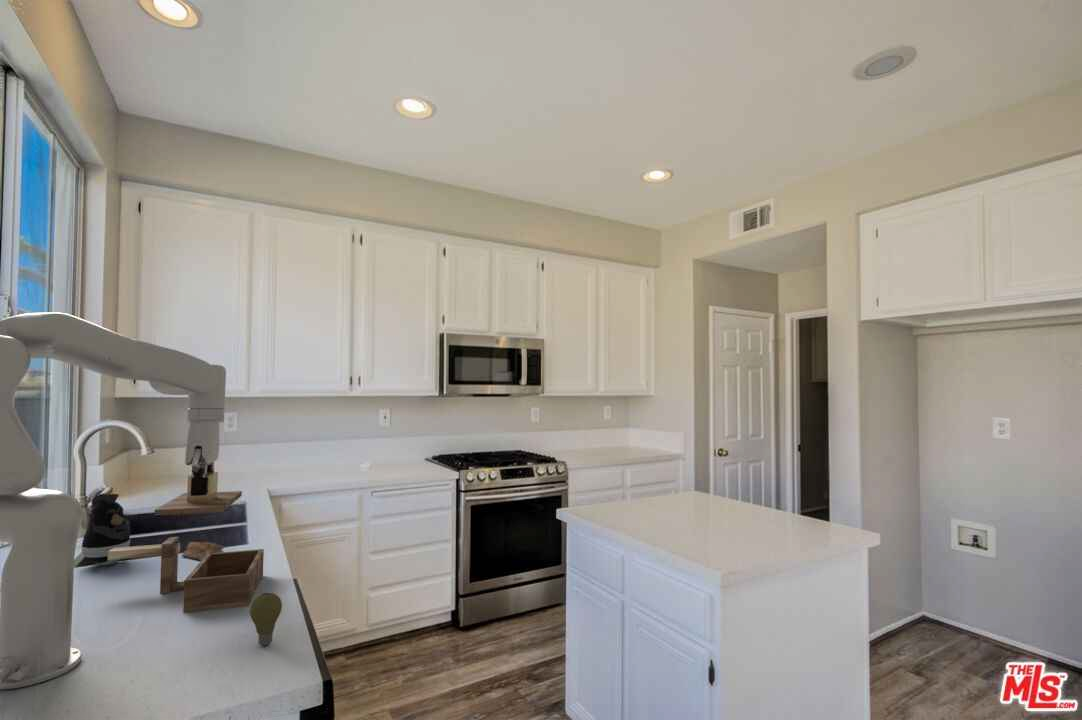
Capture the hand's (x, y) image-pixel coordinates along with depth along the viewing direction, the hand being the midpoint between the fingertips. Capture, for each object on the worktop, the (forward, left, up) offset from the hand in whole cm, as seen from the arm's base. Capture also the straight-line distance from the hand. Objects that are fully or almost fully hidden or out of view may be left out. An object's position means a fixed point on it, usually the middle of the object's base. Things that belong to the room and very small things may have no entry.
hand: (202, 492), depth 130 cm
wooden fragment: (+40, +9, -25) cm, 48 cm away
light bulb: (-30, -18, -25) cm, 43 cm away
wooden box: (+2, -1, -25) cm, 25 cm away
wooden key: (+9, +14, -16) cm, 23 cm away
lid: (0, 0, -3) cm, 3 cm away
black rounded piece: (+34, +31, -25) cm, 52 cm away
